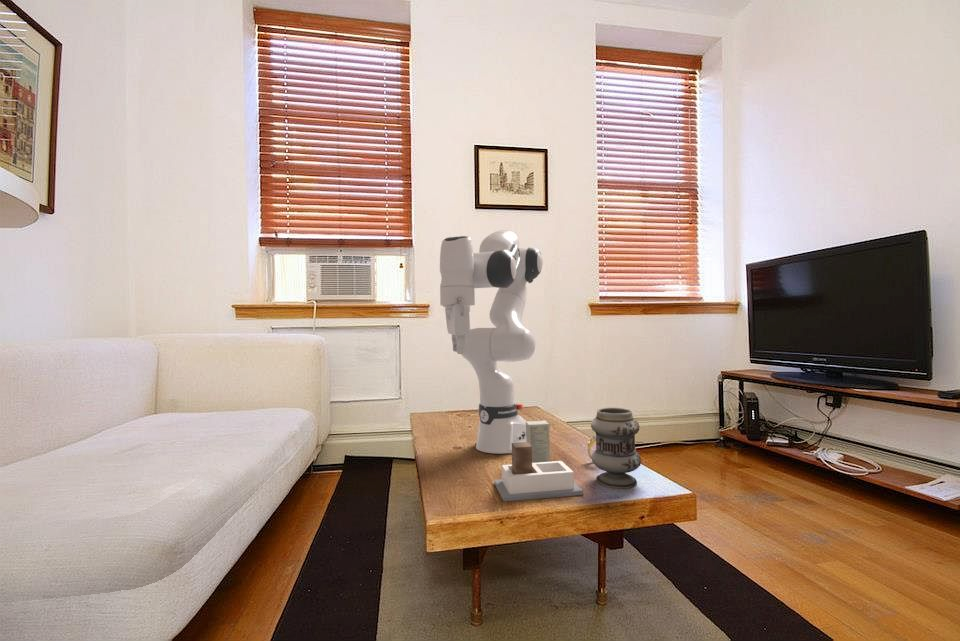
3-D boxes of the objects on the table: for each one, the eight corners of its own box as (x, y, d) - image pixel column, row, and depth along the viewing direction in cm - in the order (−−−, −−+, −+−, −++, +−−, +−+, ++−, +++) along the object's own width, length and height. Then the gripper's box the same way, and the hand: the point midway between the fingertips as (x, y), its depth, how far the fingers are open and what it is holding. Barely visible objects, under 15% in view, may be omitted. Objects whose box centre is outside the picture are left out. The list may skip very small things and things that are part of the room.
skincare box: (547, 462, 124) (546, 420, 124) (550, 467, 119) (549, 423, 119) (526, 462, 124) (525, 420, 124) (528, 467, 119) (527, 424, 119)
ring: (588, 464, 121) (588, 436, 121) (585, 460, 125) (584, 433, 125) (612, 463, 122) (612, 435, 122) (608, 459, 125) (608, 432, 125)
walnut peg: (528, 482, 106) (527, 441, 106) (532, 488, 102) (531, 446, 102) (512, 483, 105) (511, 442, 105) (516, 489, 101) (515, 447, 101)
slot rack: (503, 501, 97) (503, 479, 97) (494, 483, 108) (494, 463, 108) (583, 494, 100) (582, 473, 100) (566, 478, 111) (565, 458, 111)
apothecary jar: (600, 469, 117) (599, 403, 117) (647, 478, 110) (645, 408, 110) (584, 483, 107) (583, 411, 107) (634, 494, 100) (632, 417, 100)
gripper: (475, 296, 100) (476, 355, 100) (464, 300, 120) (465, 350, 120) (448, 296, 99) (449, 355, 99) (442, 301, 119) (443, 350, 119)
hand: (458, 352), depth 110 cm, fingers open, 8 cm apart
